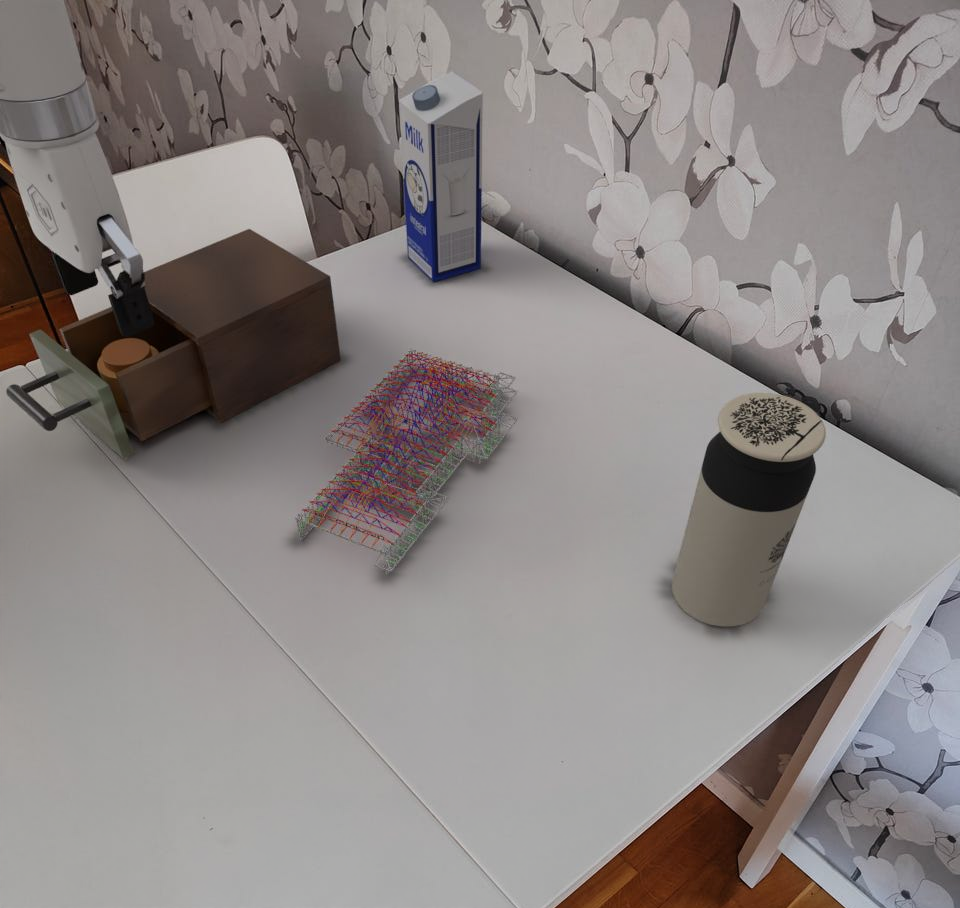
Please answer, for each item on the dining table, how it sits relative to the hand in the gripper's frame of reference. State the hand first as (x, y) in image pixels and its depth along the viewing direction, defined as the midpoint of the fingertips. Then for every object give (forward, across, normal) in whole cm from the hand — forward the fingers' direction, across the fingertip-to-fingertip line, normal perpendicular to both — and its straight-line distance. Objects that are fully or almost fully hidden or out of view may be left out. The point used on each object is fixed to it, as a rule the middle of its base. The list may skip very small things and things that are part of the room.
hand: (109, 309), depth 84 cm
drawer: (+11, 0, -1) cm, 11 cm away
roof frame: (+12, +25, +14) cm, 31 cm away
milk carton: (+12, 0, +43) cm, 44 cm away
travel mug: (+12, +56, +21) cm, 61 cm away
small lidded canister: (+10, 0, 0) cm, 10 cm away
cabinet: (+12, 0, +12) cm, 17 cm away
